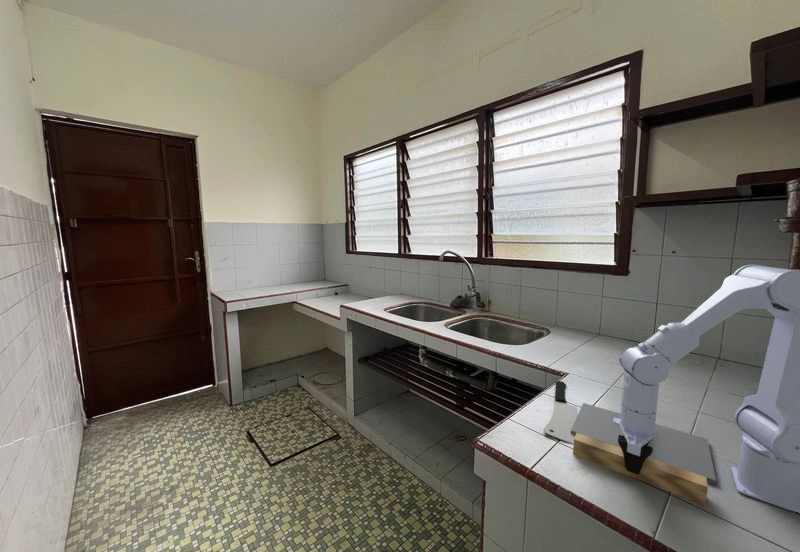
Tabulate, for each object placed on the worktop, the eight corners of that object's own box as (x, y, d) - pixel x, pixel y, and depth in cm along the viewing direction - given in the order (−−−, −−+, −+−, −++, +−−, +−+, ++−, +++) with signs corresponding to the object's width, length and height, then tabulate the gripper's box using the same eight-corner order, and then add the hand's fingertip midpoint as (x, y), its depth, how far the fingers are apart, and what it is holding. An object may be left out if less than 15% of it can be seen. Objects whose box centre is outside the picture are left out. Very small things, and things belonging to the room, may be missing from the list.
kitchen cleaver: (589, 446, 74) (543, 430, 78) (588, 453, 74) (542, 436, 79) (585, 388, 101) (551, 378, 105) (584, 392, 101) (551, 382, 106)
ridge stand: (707, 442, 75) (709, 425, 74) (715, 485, 63) (718, 464, 62) (583, 405, 91) (583, 391, 91) (570, 433, 79) (571, 417, 78)
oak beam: (703, 495, 60) (706, 477, 60) (705, 506, 58) (707, 487, 58) (575, 447, 74) (576, 432, 74) (572, 454, 72) (573, 439, 72)
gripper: (618, 386, 72) (614, 440, 74) (610, 416, 61) (605, 478, 63) (658, 396, 68) (652, 453, 70) (657, 430, 57) (650, 496, 59)
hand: (633, 466), depth 66 cm, fingers closed on oak beam, 3 cm apart
